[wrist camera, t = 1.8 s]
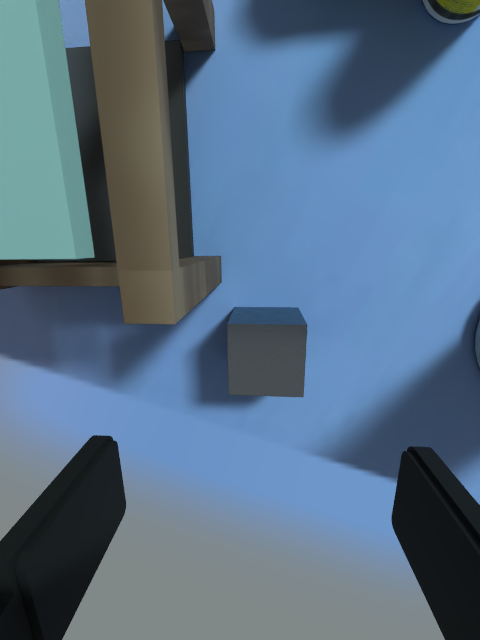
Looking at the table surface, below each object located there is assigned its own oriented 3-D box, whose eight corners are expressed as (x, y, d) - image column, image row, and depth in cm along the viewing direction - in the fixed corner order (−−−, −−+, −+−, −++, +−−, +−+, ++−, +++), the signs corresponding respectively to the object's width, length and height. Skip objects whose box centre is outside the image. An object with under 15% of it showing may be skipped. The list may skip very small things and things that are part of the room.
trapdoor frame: (214, 11, 18) (121, -417, 6) (221, 282, 22) (175, 324, 11) (-35, 30, 19) (-484, -288, 8) (19, 282, 24) (-216, 319, 12)
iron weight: (297, 307, 22) (307, 324, 18) (295, 365, 24) (303, 397, 19) (234, 306, 23) (227, 323, 18) (235, 364, 24) (228, 394, 19)
